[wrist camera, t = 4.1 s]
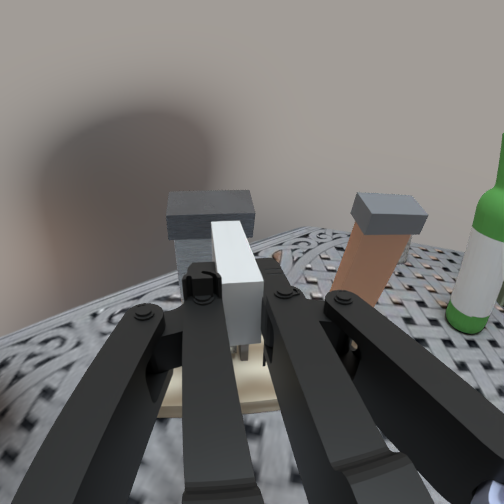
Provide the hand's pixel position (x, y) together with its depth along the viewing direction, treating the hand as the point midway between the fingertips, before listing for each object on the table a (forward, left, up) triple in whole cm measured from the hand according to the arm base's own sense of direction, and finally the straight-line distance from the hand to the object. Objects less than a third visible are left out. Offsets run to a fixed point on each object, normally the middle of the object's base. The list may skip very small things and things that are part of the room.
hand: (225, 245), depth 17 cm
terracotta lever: (+9, +15, -17) cm, 24 cm away
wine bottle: (+33, +24, -20) cm, 45 cm away
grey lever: (-4, +9, -16) cm, 19 cm away
